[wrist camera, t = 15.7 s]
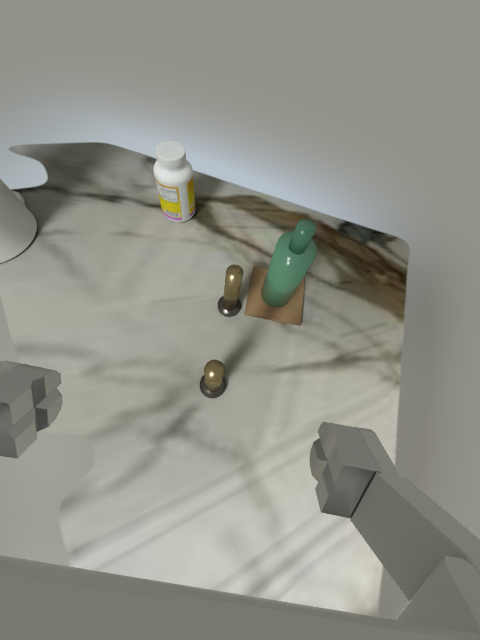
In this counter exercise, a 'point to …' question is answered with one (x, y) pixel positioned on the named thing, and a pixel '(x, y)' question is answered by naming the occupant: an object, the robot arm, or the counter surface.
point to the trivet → (262, 310)
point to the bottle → (289, 264)
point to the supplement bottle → (174, 182)
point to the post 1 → (213, 379)
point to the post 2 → (231, 291)
